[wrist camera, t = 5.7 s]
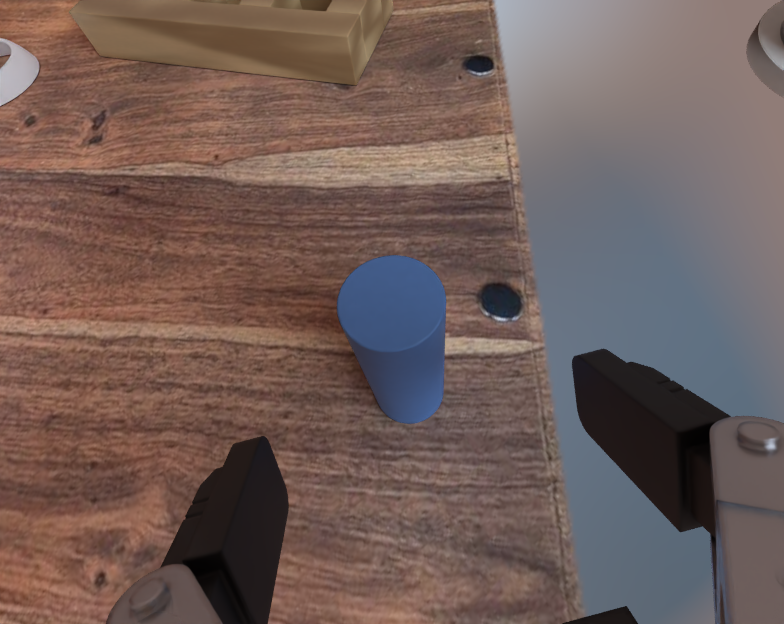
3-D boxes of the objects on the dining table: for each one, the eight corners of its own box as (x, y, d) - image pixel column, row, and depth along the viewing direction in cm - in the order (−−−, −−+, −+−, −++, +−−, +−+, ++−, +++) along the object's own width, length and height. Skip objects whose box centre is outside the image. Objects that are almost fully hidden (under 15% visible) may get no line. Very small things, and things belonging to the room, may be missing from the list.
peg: (450, 367, 21) (457, 265, 13) (433, 432, 20) (430, 364, 12) (387, 351, 22) (356, 245, 14) (367, 413, 20) (320, 336, 12)
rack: (156, -7, 40) (132, -53, 36) (393, 10, 35) (389, -41, 32) (100, 56, 36) (67, 11, 33) (356, 85, 31) (347, 36, 28)
